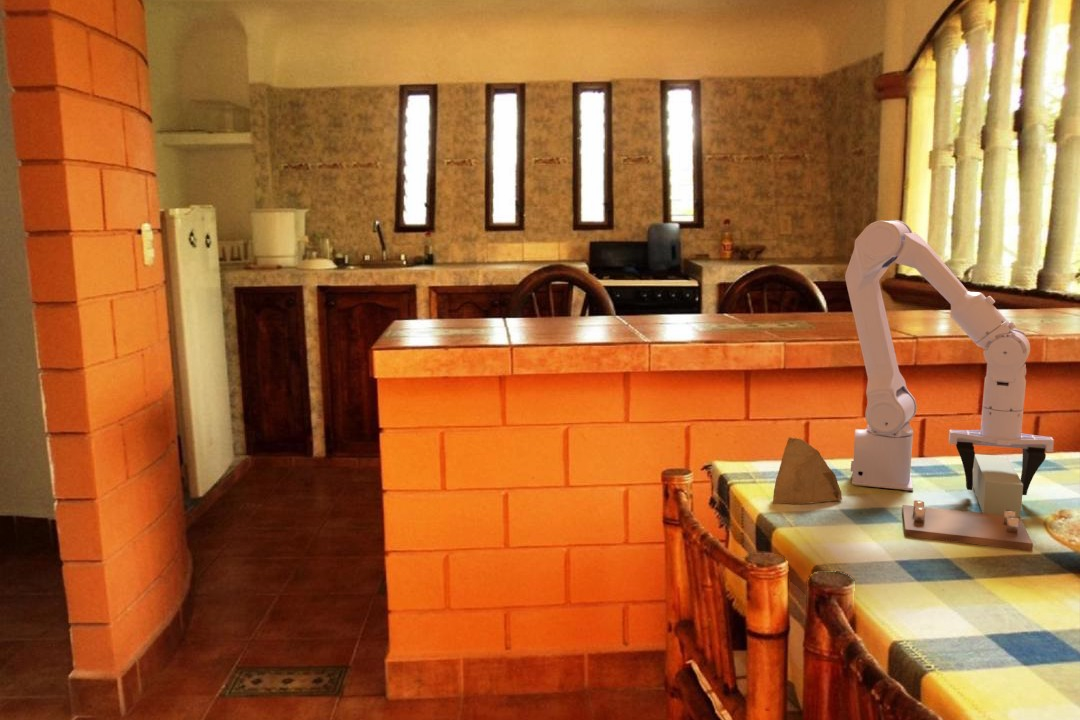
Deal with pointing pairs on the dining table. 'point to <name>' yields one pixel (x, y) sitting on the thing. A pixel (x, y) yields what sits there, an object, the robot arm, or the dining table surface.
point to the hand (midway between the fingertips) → (995, 490)
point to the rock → (804, 476)
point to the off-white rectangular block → (997, 485)
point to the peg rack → (966, 526)
